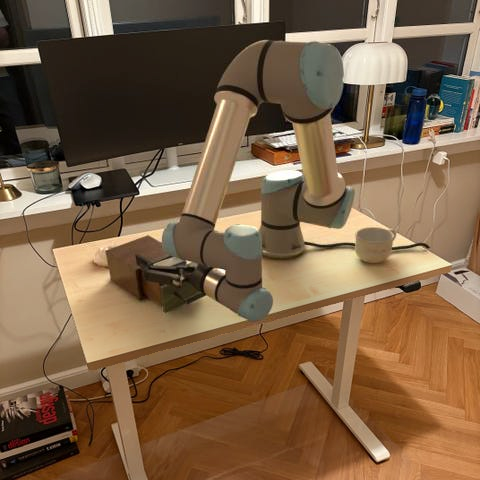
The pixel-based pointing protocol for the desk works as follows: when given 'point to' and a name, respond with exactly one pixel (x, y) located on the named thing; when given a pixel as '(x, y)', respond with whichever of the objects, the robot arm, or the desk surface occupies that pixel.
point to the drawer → (169, 294)
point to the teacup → (374, 244)
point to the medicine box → (172, 263)
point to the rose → (102, 255)
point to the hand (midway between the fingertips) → (160, 250)
